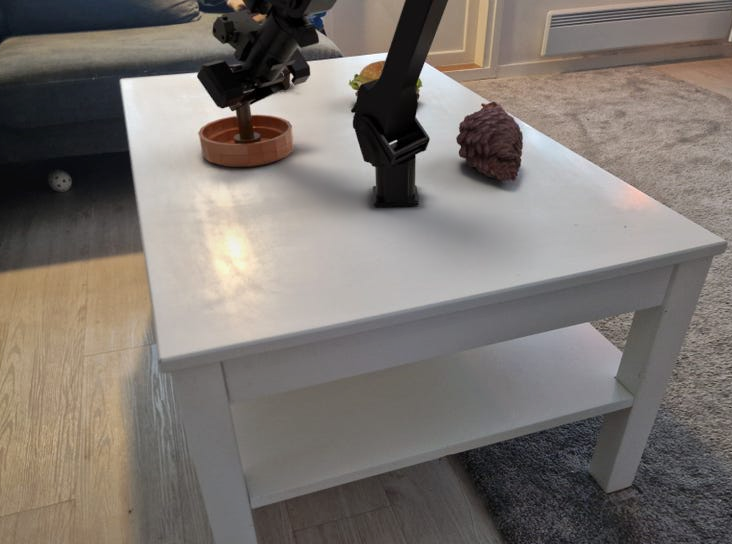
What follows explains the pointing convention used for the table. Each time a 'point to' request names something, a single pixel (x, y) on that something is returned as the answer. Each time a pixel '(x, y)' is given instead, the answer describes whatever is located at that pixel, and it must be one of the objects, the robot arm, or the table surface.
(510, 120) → the pine cone
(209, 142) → the bowl
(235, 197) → the table surface
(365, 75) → the food
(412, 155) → the robot arm
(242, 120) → the brown wooden peg
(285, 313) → the table surface
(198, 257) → the table surface
